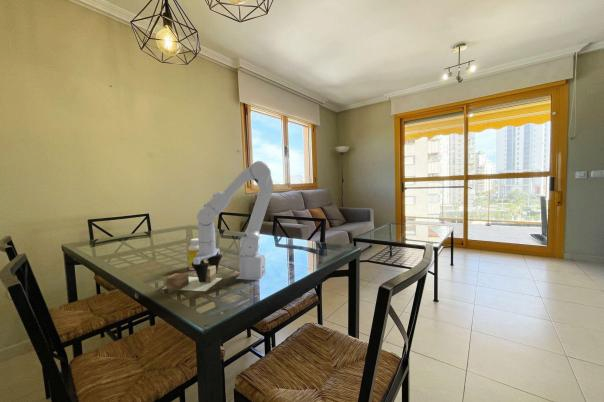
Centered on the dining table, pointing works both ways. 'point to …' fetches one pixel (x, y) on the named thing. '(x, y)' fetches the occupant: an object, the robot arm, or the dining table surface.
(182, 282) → the walnut base
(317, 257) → the dining table surface
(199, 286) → the cream flat slab
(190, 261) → the supplement bottle
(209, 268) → the maple pillar
